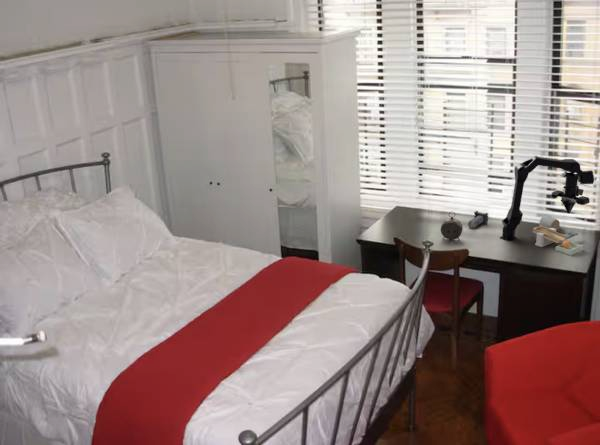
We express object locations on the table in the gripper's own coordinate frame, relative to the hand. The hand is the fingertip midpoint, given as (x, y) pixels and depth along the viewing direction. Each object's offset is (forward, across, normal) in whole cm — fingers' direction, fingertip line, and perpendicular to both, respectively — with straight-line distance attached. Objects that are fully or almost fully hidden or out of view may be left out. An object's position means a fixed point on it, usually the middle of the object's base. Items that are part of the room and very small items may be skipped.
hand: (568, 213), depth 360 cm
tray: (+13, -12, +15) cm, 23 cm away
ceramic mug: (+13, +12, -3) cm, 18 cm away
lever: (+12, +1, +10) cm, 15 cm away
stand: (+13, +2, +15) cm, 20 cm away
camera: (+13, +43, +20) cm, 49 cm away
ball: (+10, -10, +15) cm, 21 cm away
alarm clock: (+13, +37, +47) cm, 61 cm away
